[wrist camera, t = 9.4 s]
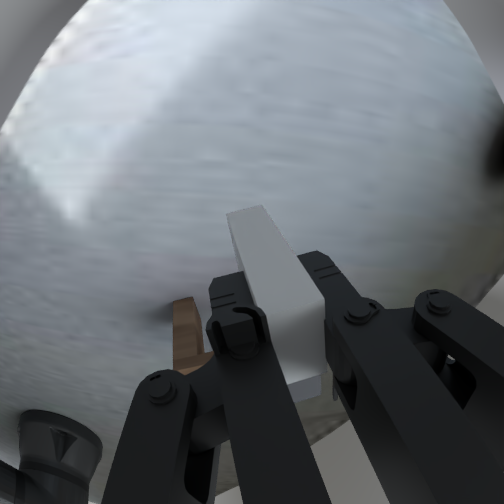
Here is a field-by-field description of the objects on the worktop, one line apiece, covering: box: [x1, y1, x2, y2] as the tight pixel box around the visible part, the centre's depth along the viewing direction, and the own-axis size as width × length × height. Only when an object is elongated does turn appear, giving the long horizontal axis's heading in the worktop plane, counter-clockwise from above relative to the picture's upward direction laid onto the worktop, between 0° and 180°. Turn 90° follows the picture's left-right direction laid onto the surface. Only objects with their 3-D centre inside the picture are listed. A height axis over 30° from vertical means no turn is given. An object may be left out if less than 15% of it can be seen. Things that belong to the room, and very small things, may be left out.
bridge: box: [173, 297, 214, 375], centre depth 28 cm, size 3×14×9 cm, turn 100°
